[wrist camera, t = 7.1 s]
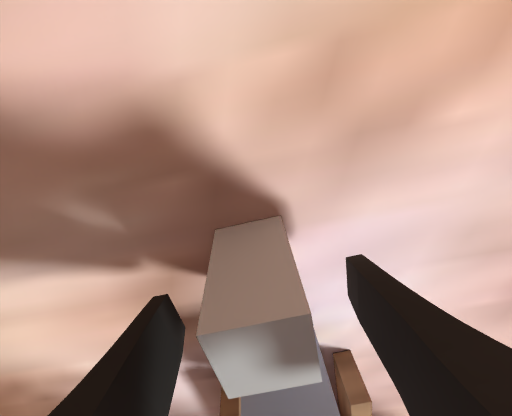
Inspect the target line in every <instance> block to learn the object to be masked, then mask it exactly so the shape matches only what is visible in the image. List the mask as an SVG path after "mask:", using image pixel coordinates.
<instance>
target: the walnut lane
mask: <svg viewBox="0 0 512 416" xmlns="http://www.w3.org/2000/svg"><path fill="white" fill-rule="evenodd" d="M333 359H334V368H335V377H336V386H337V395H338V404H339V413H340V416H372V401H371V399H370V396H369V394H368V391H367V389H366V387H365V384H364V382H363V379H362V377H361V375H360V372H359V370H358V368H357V365H356V363H355V360H354V358H353V356H352V353H351V351H350V350H349V351H343V352H338V353H333ZM220 416H241V397H238V398H232V399H228V397H227V395H226V393H225V391H224V389H223V387H222V389H221V404H220Z"/></svg>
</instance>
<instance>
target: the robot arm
mask: <svg viewBox="0 0 512 416" xmlns="http://www.w3.org/2000/svg"><path fill="white" fill-rule="evenodd" d="M346 270H347V288H348V296H349V299H350V301H351V304H352V306H353V309H354V311H355V313H356V315H357V318H358V320H359V322H360V324H361V326H362V327H363V329H364V331H365V333H366V335H367V336H368V338H369V340H370V342H371V344H372V345H373V347H374V349H375V351H376V352H377V354H378V356H379V358H380V360H381V361H382V363H383V365H384V367H385V368H386V370H387V372H388V374H389V376H390V377H391V379H392V381H393V383H394V385H395V387H396V389H397V390H398V392H399V394H400V396H401V398H402V400H403V402H404V405H405V407H406V409H407V411H408V413H409V415H410V416H512V348H510V347H508V346H506V345H504V344H502V343H500V342H498V341H496V340H494V339H492V338H491V337H489V336H487V335H485V334H483V333H481V332H480V331H478V330H476V329H474V328H472V327H471V326H469V325H467V324H465V323H463V322H462V321H460V320H458V319H456V318H455V317H453V316H451V315H450V314H448V313H446V312H445V311H443V310H442V309H440V308H438V307H437V306H435V305H434V304H432V303H430V302H429V301H427V300H426V299H424V298H423V297H421V296H420V295H418V294H417V293H415V292H414V291H412V290H411V289H409V288H408V287H406V286H405V285H403V284H402V283H401V282H399V281H398V280H396V279H395V278H393V277H392V276H391V275H389V274H388V273H387V272H385V271H384V270H382V269H381V268H380V267H378V266H377V265H376V264H374V263H373V262H372V261H370V260H369V259H367V258H366V257H365V256H363V255H362V254H361V255H356V256H351V257H346ZM184 336H185V326H184V324H183V322H182V320H181V318H180V316H179V314H178V312H177V310H176V309H175V307H174V305H173V303H172V301H171V299H170V297H169V295H168V294H165V295H160V296H155V297H153V298H152V299H151V300H150V301H149V302H148V304H147V305H146V306H145V307H144V308H143V309H142V311H141V312H140V313H139V314H138V316H137V317H136V318H135V319H134V320H133V322H132V323H131V324H130V325H129V327H128V328H127V329H126V330H125V331H124V333H123V334H122V335H121V336H120V337H119V338H118V340H117V341H116V342H115V343H114V344H113V346H112V347H111V348H110V349H109V350H108V352H107V353H106V354H105V355H104V356H103V357H102V358H101V359H100V361H99V362H98V363H97V364H96V365H95V366H94V367H93V368H92V370H91V371H90V372H89V373H88V374H87V375H86V376H85V377H84V379H83V380H82V381H81V382H80V383H79V384H78V385H77V386H76V387H75V388H74V389H73V390H72V391H71V392H70V394H69V395H68V396H67V397H66V398H65V399H64V400H63V401H62V402H61V403H60V404H59V405H58V406H57V407H56V408H55V409H54V410H53V411H52V412H51V413H50V414H49V415H48V416H168V414H169V410H170V405H171V401H172V397H173V393H174V389H175V384H176V380H177V376H178V371H179V367H180V363H181V358H182V353H183V345H184Z"/></svg>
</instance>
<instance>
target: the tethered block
mask: <svg viewBox="0 0 512 416" xmlns="http://www.w3.org/2000/svg"><path fill="white" fill-rule="evenodd" d="M196 337H197V339H198V341H199V343H200V345H201V347H202V349H203V351H204V353H205V355H206V357H207V358H208V360H209V362H210V364H211V366H212V368H213V370H214V372H215V374H216V376H217V378H218V380H219V382H220V383H221V385H222V387H223V389H224V391H225V393H226V395H227V397H228V399H232V398H238V397H241V416H340V413H339V410H338V407H337V403H336V400H335V397H334V393H333V390H332V387H331V384H330V380H329V377H328V374H327V370H326V367H325V364H324V360H323V357H322V354H321V351H320V347H319V344H318V341H317V337H316V334H315V331H314V328H313V322H312V316H311V312H310V308H309V305H308V302H307V299H306V296H305V292H304V289H303V286H302V283H301V279H300V276H299V273H298V270H297V267H296V263H295V260H294V257H293V254H292V251H291V247H290V244H289V241H288V238H287V235H286V231H285V228H284V225H283V222H282V218H281V216H276V217H271V218H267V219H262V220H258V221H253V222H249V223H244V224H239V225H235V226H230V227H226V228H221V229H216V230H215V234H214V239H213V245H212V250H211V256H210V261H209V267H208V272H207V278H206V283H205V289H204V294H203V300H202V305H201V311H200V316H199V322H198V327H197V333H196Z"/></svg>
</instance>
